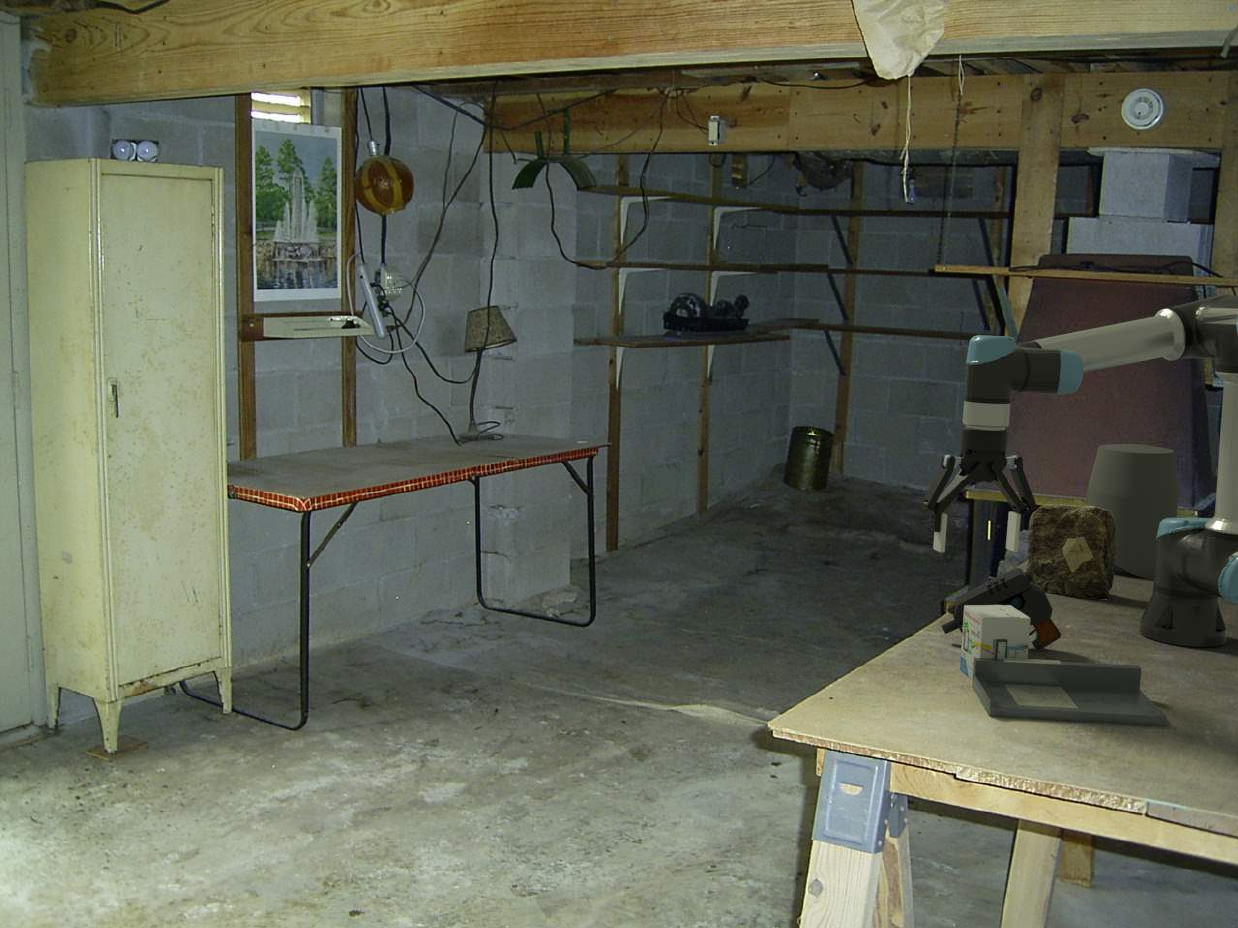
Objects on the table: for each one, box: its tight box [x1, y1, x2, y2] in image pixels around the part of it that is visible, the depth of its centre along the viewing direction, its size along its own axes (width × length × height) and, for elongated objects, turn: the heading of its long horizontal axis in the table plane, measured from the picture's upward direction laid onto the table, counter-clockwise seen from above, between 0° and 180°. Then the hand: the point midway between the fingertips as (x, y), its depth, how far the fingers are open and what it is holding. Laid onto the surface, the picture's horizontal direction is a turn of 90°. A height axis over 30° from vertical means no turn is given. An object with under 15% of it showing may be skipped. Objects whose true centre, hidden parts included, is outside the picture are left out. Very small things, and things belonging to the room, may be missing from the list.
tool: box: [940, 567, 1062, 653], centre depth 222 cm, size 6×19×15 cm
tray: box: [971, 658, 1168, 727], centre depth 191 cm, size 26×14×5 cm, turn 85°
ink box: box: [959, 605, 1031, 681], centre depth 204 cm, size 8×8×12 cm
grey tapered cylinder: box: [1085, 443, 1180, 579], centre depth 289 cm, size 20×20×30 cm
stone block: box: [1025, 503, 1116, 601], centre depth 264 cm, size 18×9×20 cm, turn 68°
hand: (975, 550), depth 208 cm, fingers open, 13 cm apart
